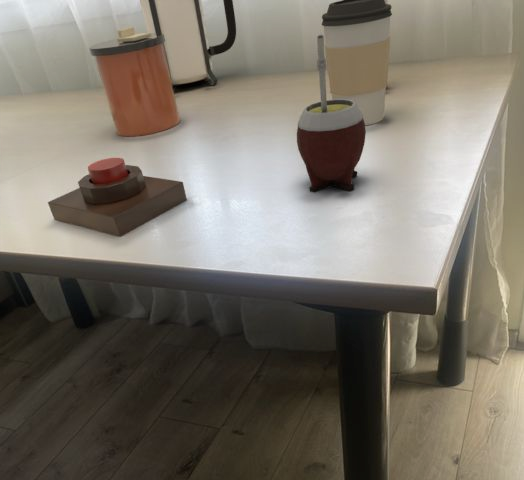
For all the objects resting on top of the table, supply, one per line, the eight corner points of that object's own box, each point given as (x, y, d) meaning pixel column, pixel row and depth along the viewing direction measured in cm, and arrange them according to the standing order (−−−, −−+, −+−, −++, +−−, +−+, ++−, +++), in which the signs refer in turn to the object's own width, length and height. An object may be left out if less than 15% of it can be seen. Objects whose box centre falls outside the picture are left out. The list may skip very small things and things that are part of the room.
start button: (85, 184, 59) (80, 168, 57) (113, 171, 61) (108, 156, 60) (107, 188, 56) (102, 171, 55) (136, 175, 59) (131, 159, 58)
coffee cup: (391, 125, 72) (392, -6, 63) (325, 132, 74) (317, 5, 65) (390, 108, 79) (391, -13, 70) (330, 114, 81) (323, -2, 72)
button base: (54, 220, 61) (41, 186, 59) (120, 188, 67) (110, 156, 65) (120, 237, 55) (108, 200, 52) (187, 200, 60) (179, 165, 58)
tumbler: (99, 135, 91) (73, 49, 83) (150, 115, 98) (130, 34, 90) (146, 139, 85) (121, 47, 77) (196, 117, 92) (179, 31, 84)
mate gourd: (338, 167, 62) (330, 18, 53) (385, 182, 56) (385, 18, 47) (286, 187, 59) (268, 33, 50) (330, 205, 54) (319, 35, 45)
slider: (117, 42, 83) (115, 31, 82) (135, 37, 85) (132, 26, 84) (134, 41, 80) (131, 29, 79) (151, 36, 82) (149, 25, 81)
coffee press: (197, 94, 107) (160, -98, 89) (140, 95, 115) (95, -82, 97) (244, 74, 118) (220, -101, 100) (189, 76, 126) (157, -86, 108)
